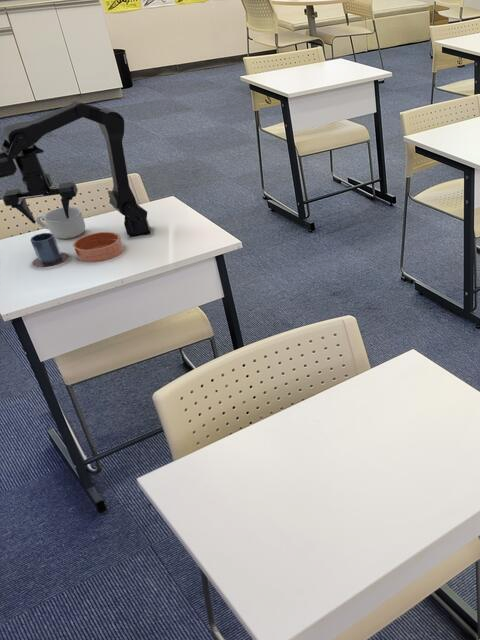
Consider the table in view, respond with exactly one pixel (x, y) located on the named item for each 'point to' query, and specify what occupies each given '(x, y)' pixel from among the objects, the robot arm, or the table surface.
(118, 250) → the bowl
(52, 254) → the cup
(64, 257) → the coaster
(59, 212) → the teacup
